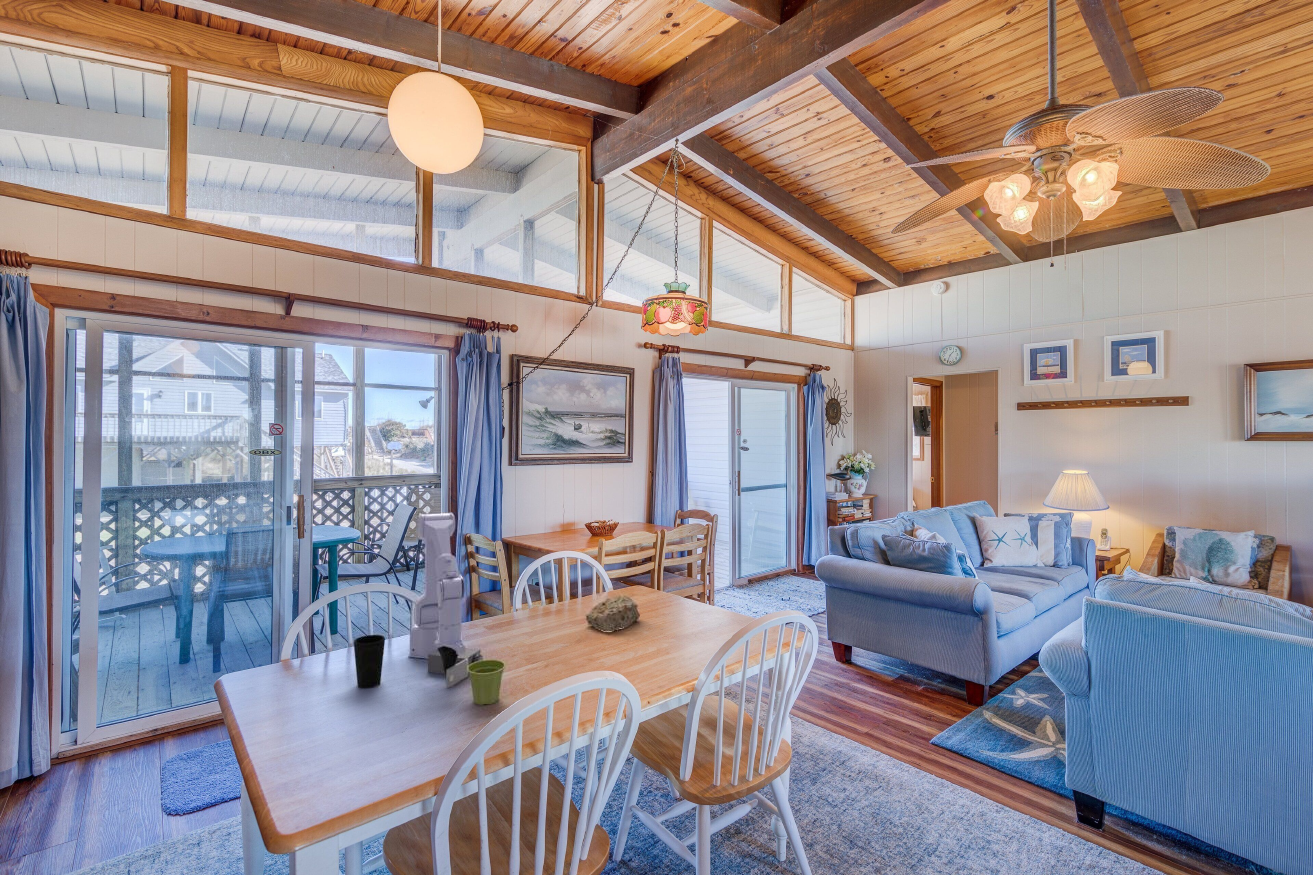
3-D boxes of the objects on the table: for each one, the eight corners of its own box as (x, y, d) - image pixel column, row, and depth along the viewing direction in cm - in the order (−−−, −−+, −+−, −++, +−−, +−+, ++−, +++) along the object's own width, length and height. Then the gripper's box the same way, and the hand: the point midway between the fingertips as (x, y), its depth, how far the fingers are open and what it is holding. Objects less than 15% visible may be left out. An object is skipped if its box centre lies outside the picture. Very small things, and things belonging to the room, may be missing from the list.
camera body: (427, 672, 175) (428, 652, 175) (443, 662, 183) (443, 643, 183) (471, 677, 172) (471, 656, 172) (485, 667, 179) (485, 647, 179)
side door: (449, 688, 164) (449, 670, 164) (445, 687, 164) (446, 669, 164) (469, 676, 172) (469, 658, 172) (465, 675, 172) (466, 658, 172)
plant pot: (484, 711, 151) (485, 676, 151) (458, 702, 156) (459, 667, 156) (513, 698, 159) (513, 664, 159) (487, 689, 164) (487, 656, 164)
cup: (353, 691, 161) (353, 645, 161) (352, 681, 168) (353, 637, 168) (385, 686, 165) (386, 641, 165) (383, 676, 172) (384, 633, 172)
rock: (615, 638, 209) (608, 609, 210) (584, 640, 217) (577, 612, 218) (649, 617, 226) (642, 590, 227) (618, 619, 234) (612, 593, 235)
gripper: (424, 618, 169) (424, 668, 170) (446, 632, 159) (446, 685, 159) (450, 614, 174) (449, 662, 174) (473, 627, 163) (472, 678, 164)
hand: (449, 673), depth 167 cm, fingers closed, pressing on side door
